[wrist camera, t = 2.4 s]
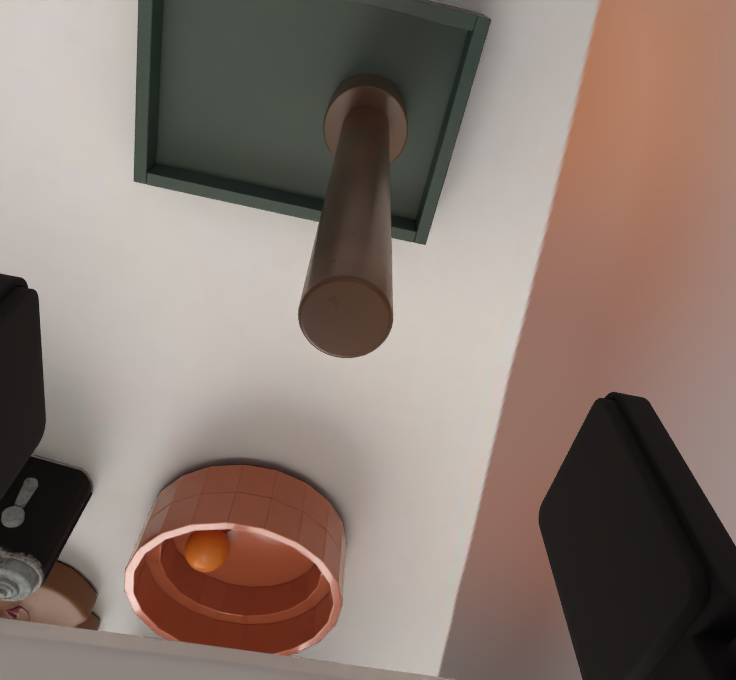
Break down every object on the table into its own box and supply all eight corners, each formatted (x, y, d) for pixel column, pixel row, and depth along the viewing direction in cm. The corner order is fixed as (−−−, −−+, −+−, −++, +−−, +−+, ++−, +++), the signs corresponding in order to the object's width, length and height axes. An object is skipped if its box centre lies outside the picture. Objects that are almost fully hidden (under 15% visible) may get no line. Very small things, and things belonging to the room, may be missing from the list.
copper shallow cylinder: (364, 479, 42) (361, 544, 38) (326, 604, 50) (320, 673, 45) (156, 441, 41) (126, 505, 36) (148, 576, 48) (122, 644, 44)
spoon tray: (484, 14, 28) (491, 19, 26) (423, 229, 33) (425, 245, 31) (156, -70, 26) (139, -71, 25) (147, 168, 32) (133, 181, 30)
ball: (235, 520, 44) (226, 556, 41) (231, 549, 46) (222, 584, 43) (192, 513, 44) (180, 548, 41) (189, 542, 45) (177, 577, 43)
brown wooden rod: (414, 83, 29) (452, 261, 13) (395, 160, 31) (407, 402, 14) (336, 64, 28) (271, 222, 12) (322, 143, 30) (249, 372, 14)
